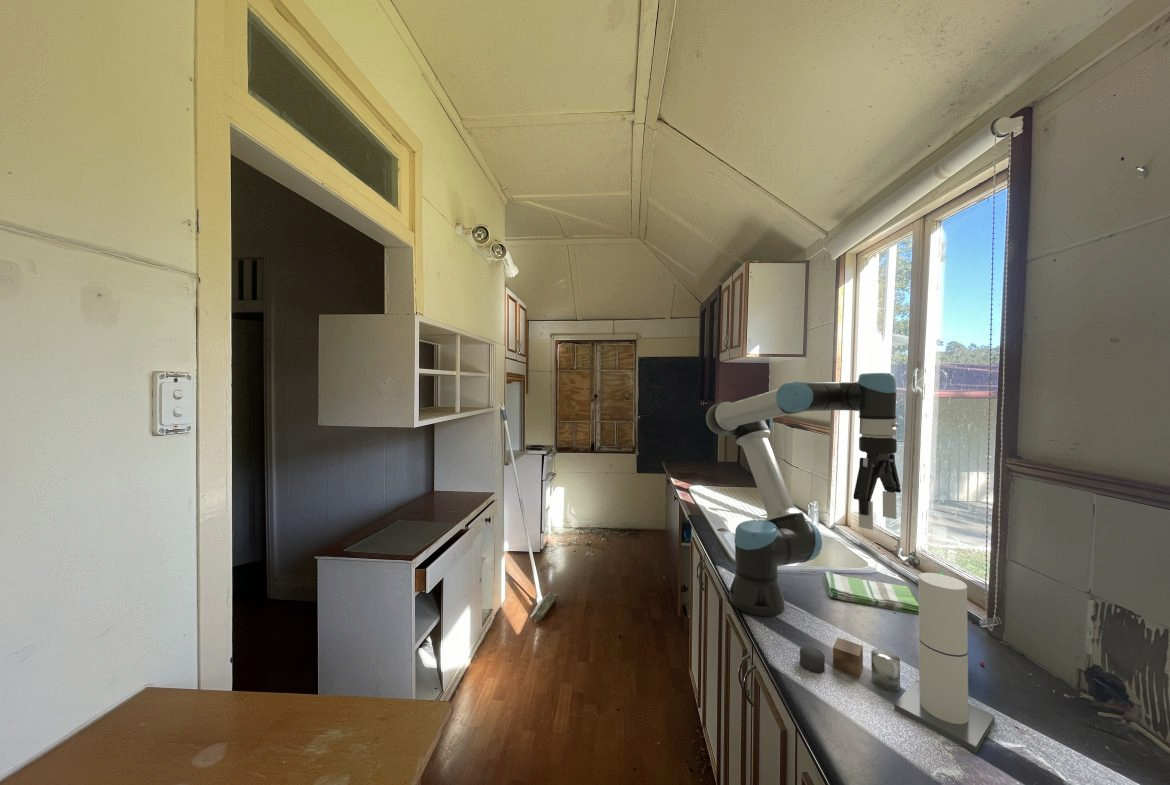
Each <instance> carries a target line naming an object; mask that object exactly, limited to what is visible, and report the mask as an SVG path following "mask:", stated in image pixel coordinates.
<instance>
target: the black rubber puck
mask: <svg viewBox="0 0 1170 785" xmlns="http://www.w3.org/2000/svg"><path fill="white" fill-rule="evenodd" d="M825 657H826V656H825V654H824V652H822V651H821V650H819V649H817V648H814V647H811V646H803V647H801V648H800V649H799V665H800V667H801V666H802V669H804V670H805V671H807V672H809V673H812V674H823V673H825V669H826V665H825V664H826V663H825V662H826V661H825V660H826V659H825Z"/></svg>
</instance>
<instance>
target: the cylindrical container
mask: <svg viewBox="0 0 1170 785" xmlns="http://www.w3.org/2000/svg"><path fill="white" fill-rule="evenodd" d="M917 576H918V577H917V578H918V583H917V584H918V588H917V589H918V590H917V591H918V603H919V614H918V657H919V658H918V660H919V661H918V664H919V666H918V667H919V668H918V670H919V672H918V673H919V674H918V677H919V679H918V680H919V685H920V704H921V706H922V707H923V708H924V709H925V710H926V711H927V712H929V713H930V714H931V715H933V716H935V717H937V718H939V719H941V720H943V721H946V722H949V723H953V724H964V723H966V722H968V703H969V658H968V657H969V655H968V654H969V650H968V649H969V648H968V646H969V644H968V641H969V640H968V638H969V637H968V585H967V584H966V583H965V582H964V581H963V580H960V579H959V578H958V579H957V578H956V577H952V576H950V575H946V574H944V575H942V574H940V573H936V572H921V573H919V574H918V575H917Z"/></svg>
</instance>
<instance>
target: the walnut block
mask: <svg viewBox="0 0 1170 785" xmlns="http://www.w3.org/2000/svg"><path fill="white" fill-rule="evenodd" d="M863 668H864V646H863V644H859V643H856V642H852V641H850V640H846V639H843V638H840V637H838V636H837V637H836V640H835V642H834V644H833V646H832V669H833V670H835V671H838V672H840V673H843V674H846V675H849V676H851V677H853V678H856V679H861V678H860V677H861V675H862V671H863Z"/></svg>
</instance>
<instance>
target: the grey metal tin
mask: <svg viewBox="0 0 1170 785" xmlns="http://www.w3.org/2000/svg"><path fill="white" fill-rule="evenodd" d="M870 652H871V653H870V654H871V655H870V658H871V666H870V668H871V673H870V674H871V682H872V683H873V685H874V686H876V688H878V689H880V690H882V691H885V692H888V693H898V692H900V691H901V660H900V657H899V656H898V655H897V654H895V653H893V652H892V651H888V650H886V649H881V648H875V649H872V650H871V651H870Z"/></svg>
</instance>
